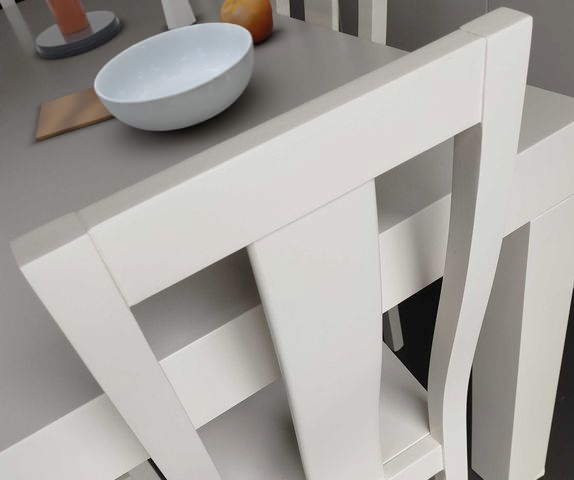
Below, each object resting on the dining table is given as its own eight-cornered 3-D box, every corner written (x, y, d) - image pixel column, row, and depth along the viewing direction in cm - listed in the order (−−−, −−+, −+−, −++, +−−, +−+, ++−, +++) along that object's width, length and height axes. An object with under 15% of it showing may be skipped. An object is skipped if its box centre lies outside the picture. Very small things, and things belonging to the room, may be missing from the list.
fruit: (294, 15, 91) (265, -25, 84) (270, 61, 91) (240, 26, 84) (258, 11, 95) (228, -27, 89) (235, 55, 96) (204, 21, 89)
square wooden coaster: (36, 141, 83) (35, 138, 83) (43, 106, 91) (41, 103, 91) (118, 116, 83) (116, 112, 83) (117, 83, 91) (116, 80, 91)
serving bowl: (91, 124, 83) (68, 75, 78) (213, 61, 89) (198, 12, 84) (159, 171, 70) (137, 116, 65) (296, 93, 76) (285, 38, 71)
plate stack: (35, 67, 104) (29, 56, 103) (42, 37, 115) (37, 26, 114) (121, 40, 104) (117, 28, 103) (120, 13, 115) (116, 2, 114)
